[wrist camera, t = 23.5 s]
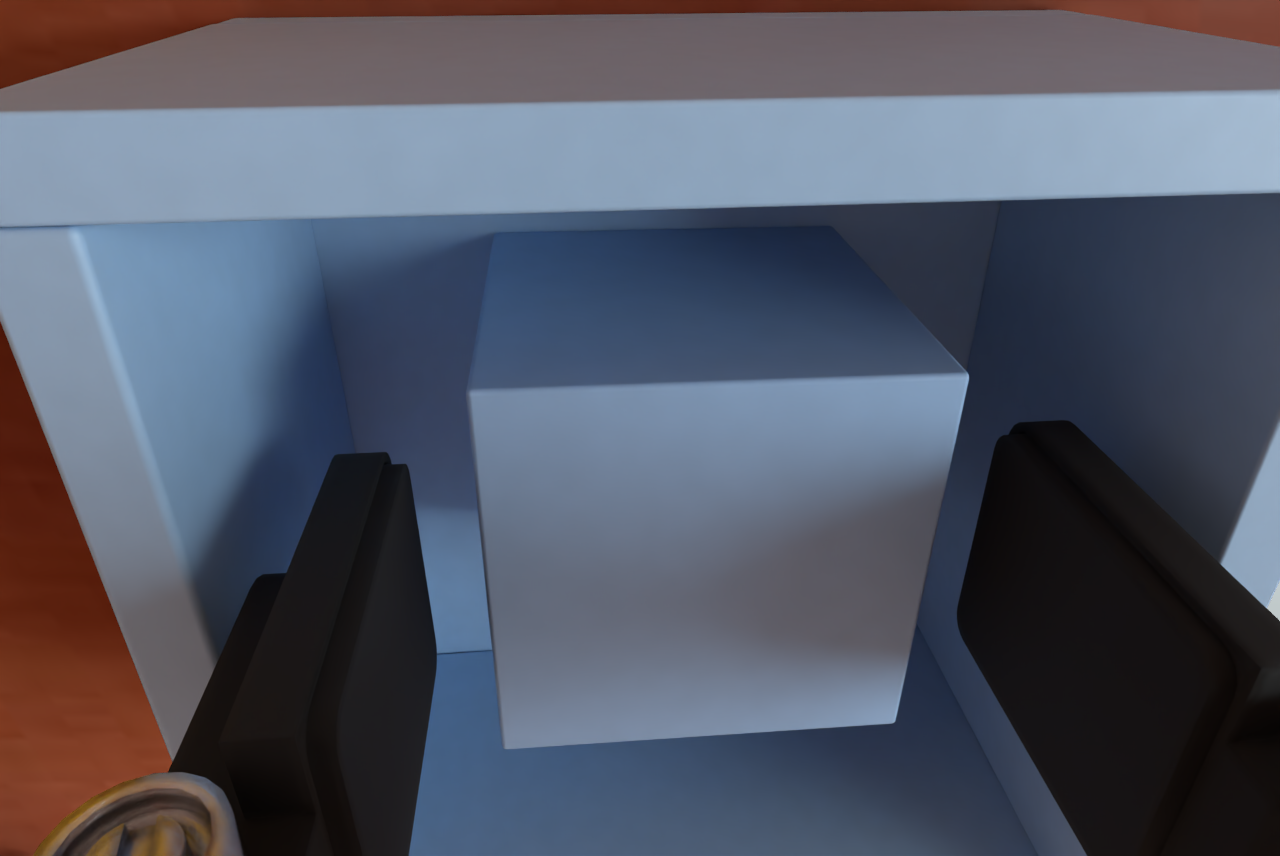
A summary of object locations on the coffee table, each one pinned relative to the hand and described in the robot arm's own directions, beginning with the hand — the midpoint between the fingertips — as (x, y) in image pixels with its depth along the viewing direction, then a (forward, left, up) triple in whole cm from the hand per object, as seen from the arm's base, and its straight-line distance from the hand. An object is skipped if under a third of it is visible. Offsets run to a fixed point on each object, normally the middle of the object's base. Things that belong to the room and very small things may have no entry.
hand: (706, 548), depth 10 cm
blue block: (0, 0, -4) cm, 4 cm away
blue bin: (+1, 0, -5) cm, 5 cm away
